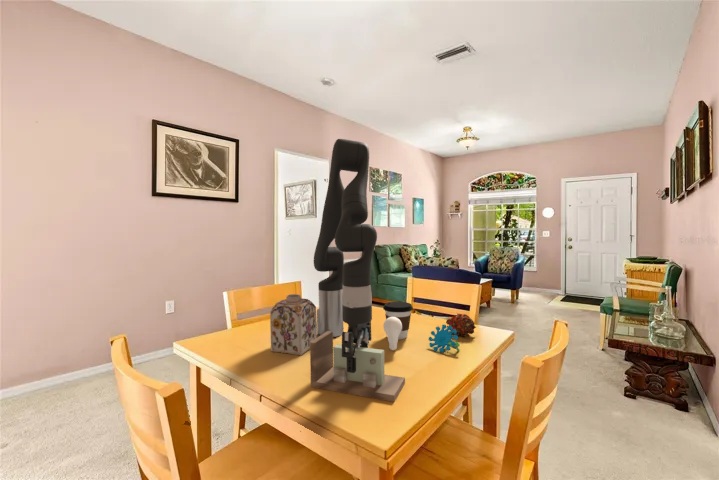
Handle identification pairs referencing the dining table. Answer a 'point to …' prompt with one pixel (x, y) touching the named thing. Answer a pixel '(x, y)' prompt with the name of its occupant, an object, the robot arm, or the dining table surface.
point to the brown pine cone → (461, 324)
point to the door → (362, 363)
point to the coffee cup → (399, 315)
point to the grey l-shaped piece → (336, 377)
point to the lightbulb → (392, 331)
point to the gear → (444, 339)
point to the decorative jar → (293, 325)
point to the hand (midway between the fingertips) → (357, 365)
